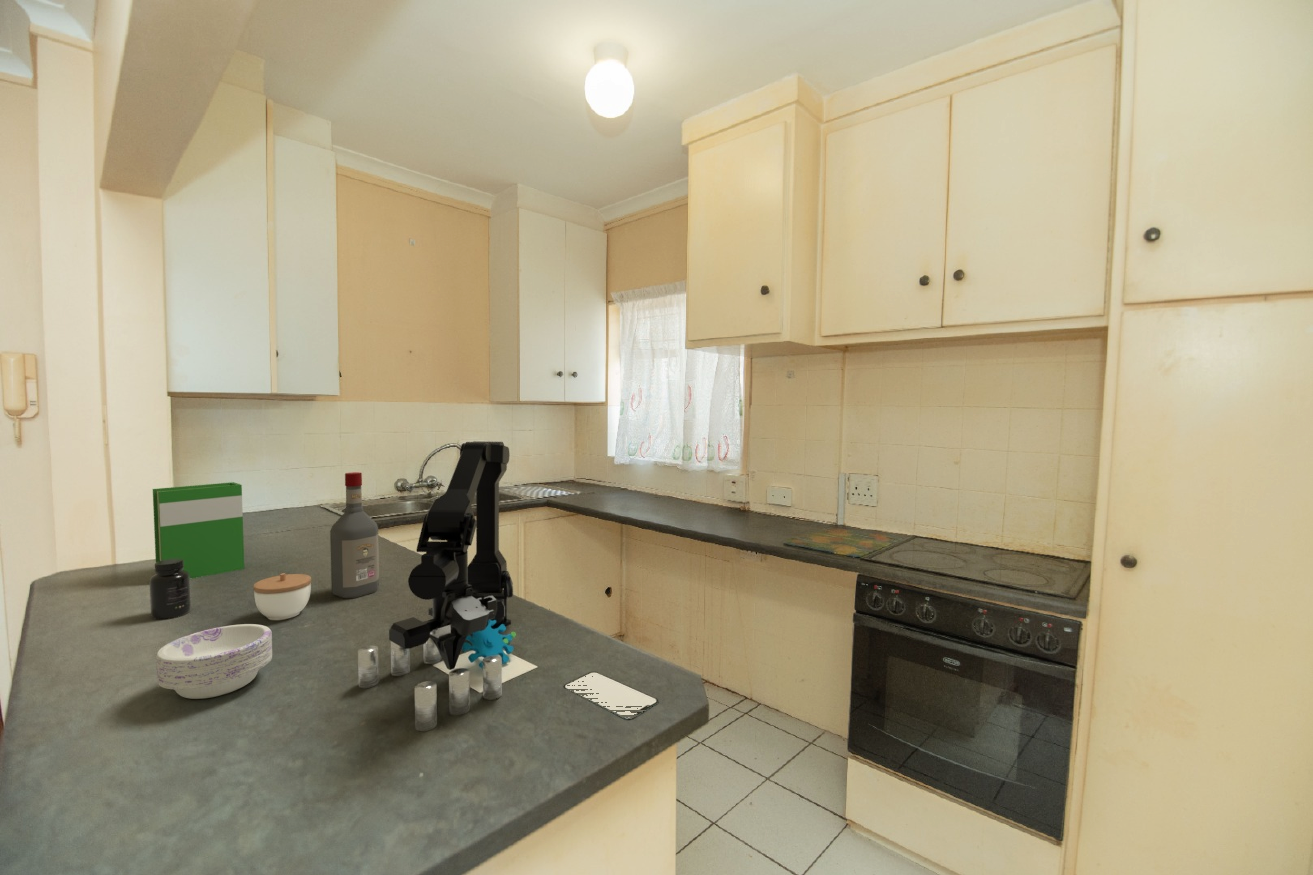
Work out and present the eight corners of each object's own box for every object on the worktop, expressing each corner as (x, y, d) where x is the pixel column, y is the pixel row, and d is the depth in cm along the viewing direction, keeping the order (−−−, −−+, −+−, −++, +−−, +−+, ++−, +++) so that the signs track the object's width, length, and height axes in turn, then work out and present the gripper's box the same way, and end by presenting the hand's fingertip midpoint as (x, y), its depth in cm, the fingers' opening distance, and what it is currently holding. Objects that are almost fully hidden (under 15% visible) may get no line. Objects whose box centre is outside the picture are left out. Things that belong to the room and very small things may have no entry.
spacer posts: (435, 655, 106) (435, 624, 106) (505, 694, 93) (505, 658, 92) (355, 684, 95) (354, 649, 95) (421, 733, 81) (421, 693, 81)
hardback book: (162, 583, 145) (158, 492, 144) (156, 578, 150) (152, 489, 148) (244, 568, 159) (241, 484, 157) (236, 563, 164) (233, 482, 162)
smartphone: (559, 689, 95) (628, 723, 85) (559, 686, 95) (628, 720, 85) (593, 672, 101) (661, 703, 91) (593, 669, 101) (661, 700, 91)
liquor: (383, 590, 142) (381, 472, 141) (347, 600, 135) (344, 476, 133) (363, 583, 147) (361, 470, 145) (327, 593, 140) (324, 473, 138)
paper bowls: (211, 663, 102) (209, 620, 102) (293, 665, 102) (291, 622, 101) (130, 708, 87) (128, 658, 87) (226, 711, 87) (224, 661, 86)
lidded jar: (265, 628, 118) (263, 584, 117) (247, 616, 124) (245, 574, 124) (320, 613, 126) (319, 572, 126) (300, 603, 133) (299, 564, 132)
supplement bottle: (143, 617, 123) (141, 563, 122) (179, 606, 129) (177, 555, 129) (162, 622, 120) (160, 567, 120) (198, 611, 127) (196, 559, 126)
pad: (489, 644, 112) (489, 643, 112) (537, 667, 102) (537, 666, 102) (432, 665, 102) (432, 664, 102) (480, 693, 93) (480, 692, 93)
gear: (473, 671, 97) (457, 618, 102) (458, 687, 99) (443, 635, 104) (527, 658, 105) (510, 611, 110) (511, 674, 107) (495, 626, 112)
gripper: (422, 604, 83) (423, 706, 84) (524, 576, 98) (524, 663, 99) (386, 588, 90) (388, 683, 91) (486, 564, 105) (487, 646, 106)
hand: (450, 668), depth 97 cm, fingers closed
